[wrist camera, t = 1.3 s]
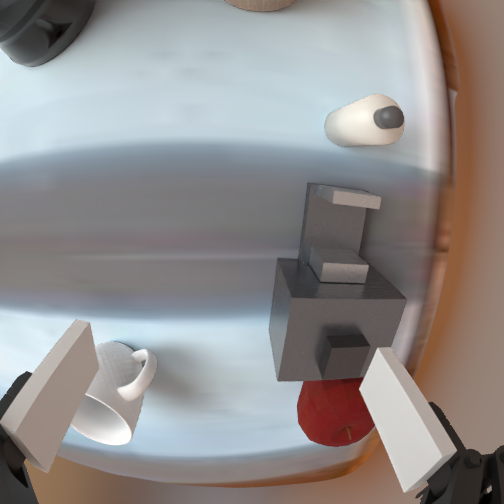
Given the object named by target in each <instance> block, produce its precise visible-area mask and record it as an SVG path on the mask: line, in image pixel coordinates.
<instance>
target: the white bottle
mask: <svg viewBox="0 0 504 504" xmlns="http://www.w3.org/2000/svg"><path fill="white" fill-rule="evenodd" d="M324 130H325V133H326V136H327V137H328V139H329V140H330V141H331V142H332V143H334V144H335V145H338V146H342V147H347V146H366V145H389V144H392V143H394V142H396V141H397V140H398V139H399V138H400V137H401V135H402V133H403V130H404V115H403V113H402V111H401V109H400V107H399V106H398V104H397V103H396V102H395V101H394V100H393V99H391V98H390V97H388V96H386V95H382V94H373V95H370V96H368V97H365V98H363V99H361V100H358V101H356V102H353V103H351V104H349V105H346V106H344V107H342V108H340V109H337V110H335V111H333V112H331V113H330V114H329V115H328V116H327V117H326V120H325V123H324Z"/></svg>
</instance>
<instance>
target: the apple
mask: <svg viewBox="0 0 504 504" xmlns="http://www.w3.org/2000/svg"><path fill="white" fill-rule="evenodd" d="M363 380H364V377H358V378H346V379H333V380H315V381H304V382H303V385H302V389H301V392H300V395H299V399H298V403H297V412H298V423H299V425H300V426H301V428H302V430H303V431H304V433H305V434H306V435H307V437H308V438H309V440H311V441H313V442H316V443H318V444H322V445H325V446H333V447H339V446H346V445H350V444H352V443H355V442H358V441H359V440H361V439H362V438H363V437H365V436H366V435H367V434H368V433H369V432H370V431H371V430H372V429H373V427H374V426H375V423H374V421H373V419H372V416H371V414H370V412H369V410H368V408H367V405H366V403H365V401H364V399H363V397H362V394H361V392H360V390H359V388H360V386H361V384H362V382H363Z"/></svg>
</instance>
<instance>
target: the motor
mask: <svg viewBox="0 0 504 504" xmlns="http://www.w3.org/2000/svg"><path fill="white" fill-rule="evenodd" d="M380 202H381V197H379V196H376V195H373V194H370V193H369V192H368V191H365V190H359V189H352V188H345V187H338V186H330V185H322V184H314V183H308V184H307V193H306V202H305V210H304V219H303V227H302V235H301V242H300V250H299V257H298V259H283V258H277V267H276V275H275V284H274V292H273V300H272V308H271V316H270V323H269V334H270V340H271V346H272V352H273V358H274V364H275V371H276V377H277V381H315V380H333V379H346V378H358V377H365V375H366V373H367V371H368V369H369V366H370V364H371V362H372V359H373V357H374V355H375V352H376V350H377V348H382V347H391V345H392V342H393V339H394V337H395V334H396V331H397V328H398V325H399V323H400V320H401V317H402V314H403V311H404V308H405V304H406V301H407V299H406V298H405V297H404V296H403V295H402V294H401V293H400V292H399V291H398V290H397V289H396V288H395V287H394V286H393V285H392V284H391V283H390V282H389V281H387V280H386V279H385V278H384V277H383V276H382V275H381V274H380V273H379V272H378V271H377V270H376V269H374V268H373V267H372V266H371V265H370V264H369V263H366V262H365V261H364V260H363V259H362V258H360V257H359V256H358V255H359V250H360V244H361V239H362V233H363V228H364V222H365V215H366V209H367V208H373V209H380Z"/></svg>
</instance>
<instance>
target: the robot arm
mask: <svg viewBox="0 0 504 504" xmlns="http://www.w3.org/2000/svg"><path fill="white" fill-rule="evenodd" d="M94 4H95V0H0V48H1V49H2V50H3V51H4V52H5V53H6V54H7V55H8V56H9V57H10V59H11V60H12V61H14V62H15V63H17V64H21V65H24V66H28V67H32V66H38V65H41V64H43V63H45V62H47V61H49V60H51V59H52V58H54V57H55V56H57V55H58V54H59V53H60V52H62V51H63V50H64V49H65V48H66V47H67V46H68V45H69V44H70V43H71V42H72V41H73V40H74V39H75V38H76V36H77V35H78V34H79V33H80V31H81V30H82V28H83V27H84V25H85V24H86V22H87V21H88V19H89V17H90V15H91V13H92V10H93V7H94ZM99 368H100V367H99V363H98V359H97V355H96V350H95V346H94V341H93V336H92V331H91V325H90V322H86V321H82V320H77V319H76V320H75V321H74V322H73V324H72V325H71V326H70V327H69V328H68V330H67V331H66V332H65V333H64V334H63V336H62V337H61V338H60V339H59V341H58V342H57V343H56V344H55V345H54V347H53V348H52V349H51V351H50V352H49V353H48V354H47V356H46V357H45V358H44V359H43V361H42V362H41V363H40V365H39V366H38V367H37V369H36V370H35V371H34V373H33V374H32V373H30V372H28V371H26V372H25V373H23V374H22V375H20V376H19V377H17V379H16V380H15V381H14V383H13V384H12V385H11V387H10V388H9V390H8V391H7V394H5V395H4V396H3V398H2V399H1V401H0V504H39V503H38V501H37V498H36V495H35V493H34V490H33V487H32V484H31V482H30V478H29V475H28V472H27V469H26V466H25V464H24V460H25V459H27V460H28V461H29V462H30V463H31V465H33V466H34V467H37V468H38V469H41V470H42V471H45V472H47V473H48V472H49V469H50V467H51V465H52V462H53V460H54V458H55V456H56V453H57V451H58V449H59V447H60V445H61V443H62V440H63V438H64V436H65V434H66V432H67V430H68V428H69V426H70V424H71V422H72V420H73V418H74V416H75V414H76V412H77V410H78V408H79V406H80V404H81V402H82V400H83V398H84V396H85V394H86V392H87V390H88V388H89V387H90V385H91V383H92V381H93V379H94V377H95V375H96V374H97V372H98V370H99ZM359 390H360V392H361V394H362V397H363V399H364V401H365V403H366V405H367V408H368V410H369V412H370V414H371V416H372V419H373V421H374V423H375V425H376V428H377V430H378V432H379V435H380V437H381V439H382V441H383V444H384V446H385V448H386V451H387V453H388V455H389V458H390V460H391V462H392V465H393V467H394V470H395V472H396V474H397V477H398V479H399V482H400V484H401V487H402V489H403V492H404V493H405V492H408V491H411V490H414V489H416V488H418V487H420V486H421V485H422V484H423V483H424V482H426V481H427V482H428V484H429V485H428V486H427V487H426V488H424V489H423V490H422V491H421V492H420V493H418V494H417V496H416V498H419V497H420V496H421V495H422V494H423V497H422V498H421V502H420V504H504V445H503V446H500V447H499V448H498V449H497V450H496V451H495V452H494V453H493V454H486V455H481V454H480V453H479V452H478V451H476V450H474V449H468V450H467V449H466V448H465V447H464V445H463V443H462V442H461V440H460V438H459V437H458V435H457V434H456V432H455V430H454V429H453V427H452V426H451V425H450V423H449V421H448V420H447V419H446V416H445V415H444V413H443V412H442V410H441V409H440V408H439V407H438V406H437V405H436V404H434V403H433V402H429V403H428V402H427V401H426V399H425V398H424V396H423V394H422V393H421V391H420V390H419V388H418V387H417V385H416V384H415V382H414V381H413V379H412V378H411V376H410V375H409V373H408V372H407V370H406V369H405V367H404V366H403V364H402V363H401V362H400V360H399V359H398V357H397V356H396V354H395V353H394V351H393V350H392V349H391V347H382V348H377V350H376V352H375V355H374V357H373V359H372V362H371V364H370V366H369V369H368V371H367V373H366V375H365V377H364V380H363V382H362V384H361V386H360V388H359ZM489 486H492V491H491V492H489V493H487V488H488V487H489Z"/></svg>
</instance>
